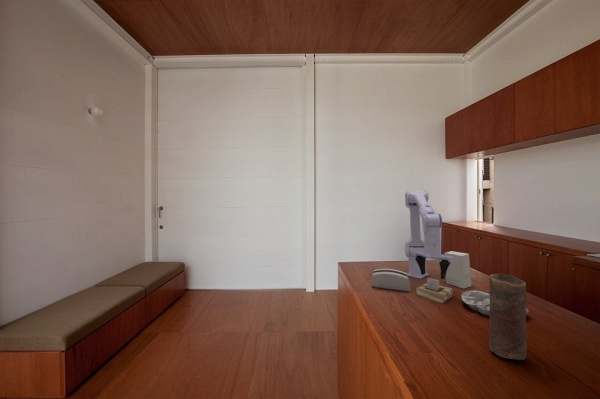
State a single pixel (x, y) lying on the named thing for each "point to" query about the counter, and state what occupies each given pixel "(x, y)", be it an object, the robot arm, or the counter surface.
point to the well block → (435, 293)
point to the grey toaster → (391, 279)
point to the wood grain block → (433, 284)
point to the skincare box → (458, 270)
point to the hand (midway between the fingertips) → (432, 276)
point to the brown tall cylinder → (507, 317)
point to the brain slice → (479, 301)
